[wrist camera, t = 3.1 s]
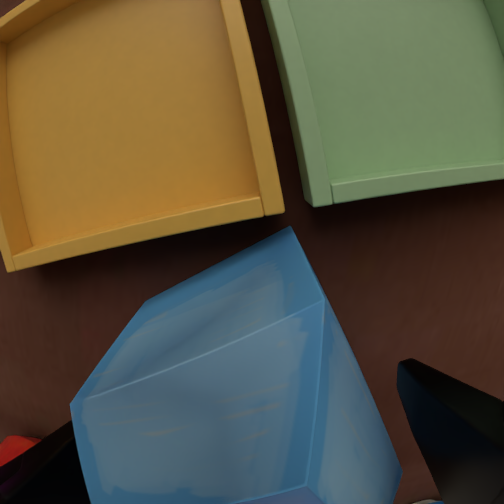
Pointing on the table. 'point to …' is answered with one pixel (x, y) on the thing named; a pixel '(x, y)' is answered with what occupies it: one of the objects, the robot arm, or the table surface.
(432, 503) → the beverage can
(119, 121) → the ochre tray
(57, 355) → the table surface
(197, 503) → the perfume bottle
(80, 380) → the table surface
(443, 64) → the sage tray
